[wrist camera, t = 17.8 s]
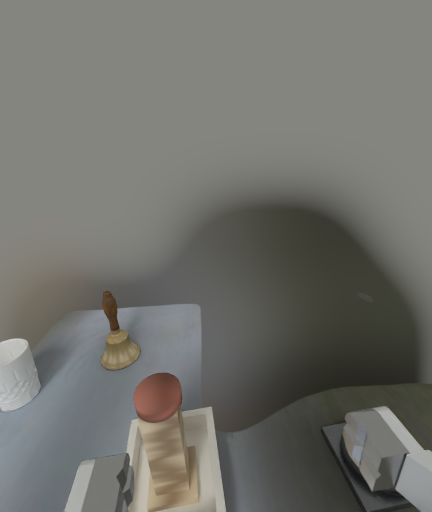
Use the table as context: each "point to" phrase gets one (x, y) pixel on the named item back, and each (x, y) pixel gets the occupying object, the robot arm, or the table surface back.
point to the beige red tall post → (166, 443)
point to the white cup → (17, 375)
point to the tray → (207, 461)
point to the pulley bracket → (361, 476)
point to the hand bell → (117, 340)
